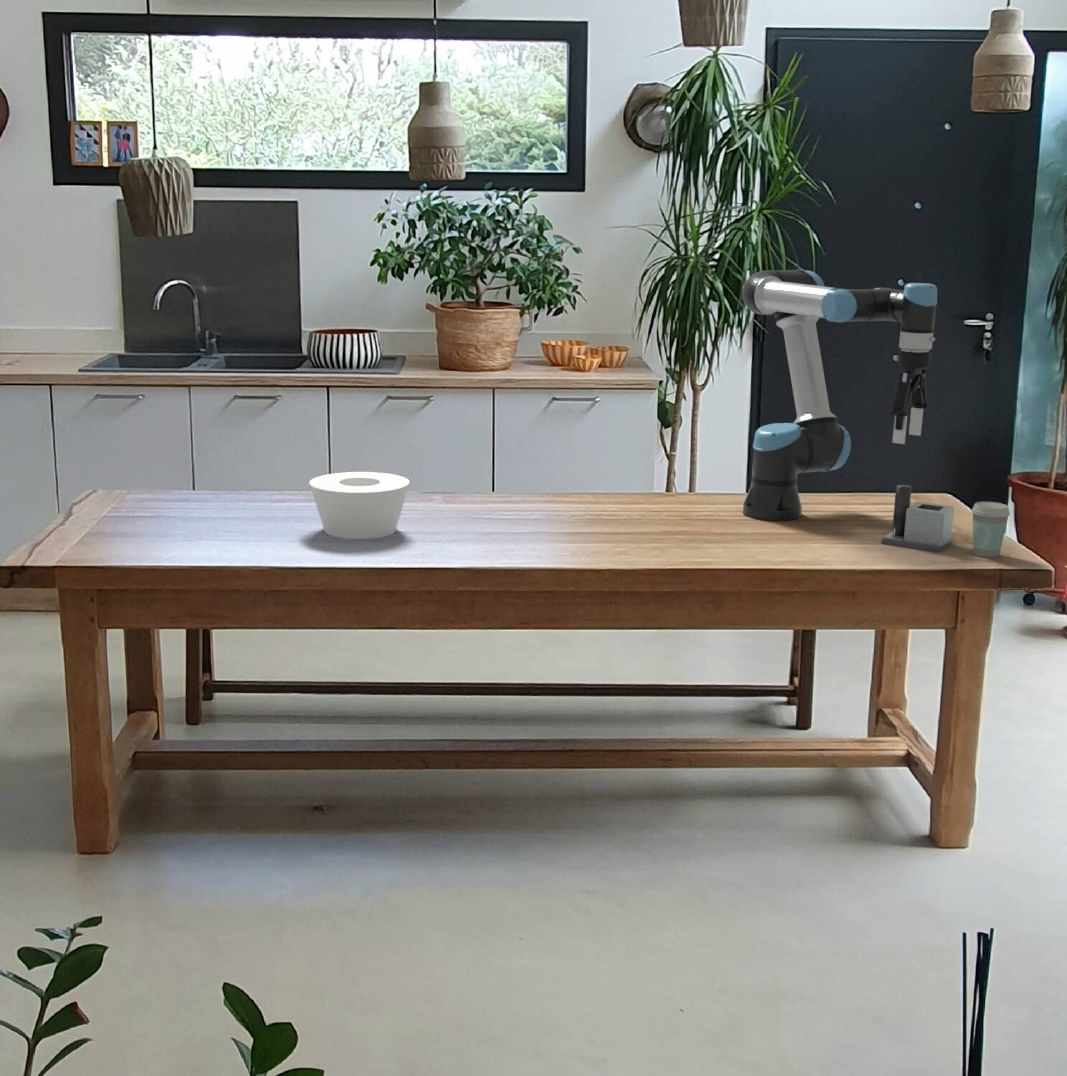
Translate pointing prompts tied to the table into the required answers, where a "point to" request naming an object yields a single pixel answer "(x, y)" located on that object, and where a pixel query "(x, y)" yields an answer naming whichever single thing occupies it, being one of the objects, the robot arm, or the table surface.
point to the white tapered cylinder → (359, 503)
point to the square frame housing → (925, 527)
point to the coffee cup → (989, 528)
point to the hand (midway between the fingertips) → (906, 439)
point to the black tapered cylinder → (901, 509)
